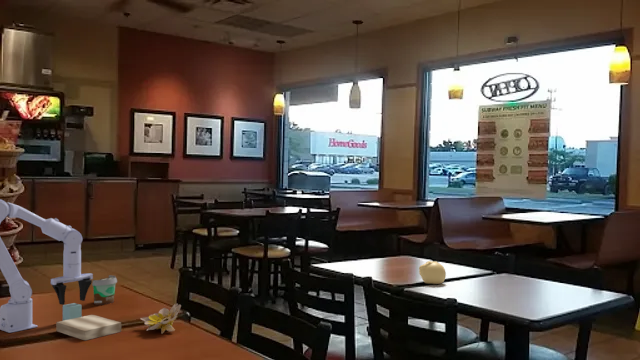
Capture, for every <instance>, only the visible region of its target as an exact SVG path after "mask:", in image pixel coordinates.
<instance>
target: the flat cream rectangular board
mask: <svg viewBox="0 0 640 360" xmlns="http://www.w3.org/2000/svg"><path fill="white" fill-rule="evenodd" d="M55 326H56V329H55V330H56V332H58V333H62V334H64V335H67V336H69V337H73V338H76V339H79V340H83V341H88V340H93V339H98V338H100V337H104V336H105V337H106V336H109V335H113V334H116V333H121V332H122V322H121V321H116V320H114V319H109V318H106V317H102V316H99V315H95V314H89V315H84V316H83V315H82V317H79V318H74V319H69V320H64V321H63V320H60V321H56V324H55Z"/></svg>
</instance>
